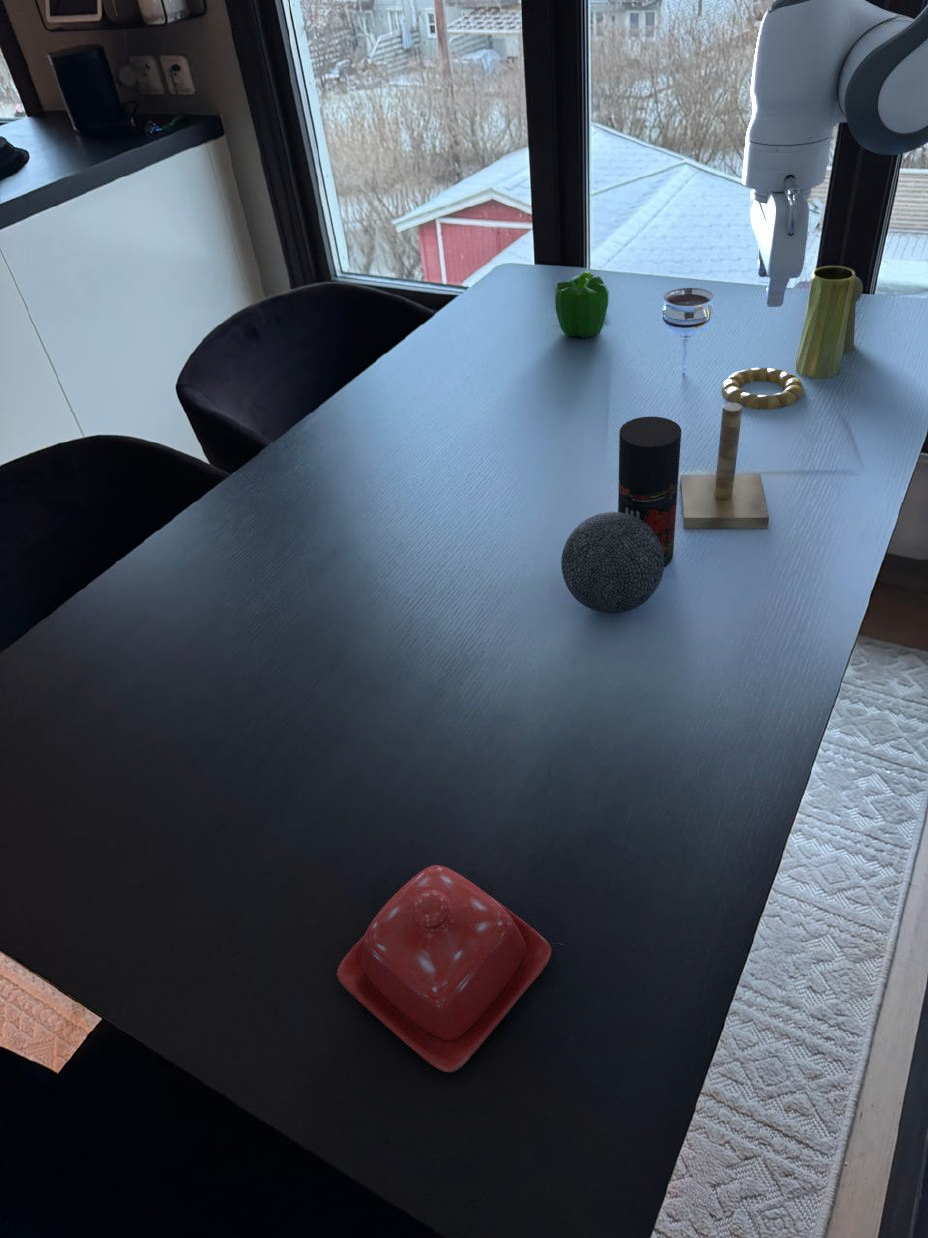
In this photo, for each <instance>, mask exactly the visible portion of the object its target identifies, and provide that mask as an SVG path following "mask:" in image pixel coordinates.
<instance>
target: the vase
mask: <svg viewBox="0 0 928 1238" xmlns="http://www.w3.org/2000/svg"><path fill="white" fill-rule="evenodd" d="M855 276H856V271H855V270H854V269H852V268H850V267H846V266H842V265H825V266H820V267H817V268H815V269H814V270H813V271H812V273H811V276H810V284H809V291H808V297H807V303H806V309H805V316H804V322H803V327H802V332H801V337H800V341H799V346H798V350H797V357H796V360H795V365H794V368H795V372H796V373H798V374H800V376H802V377H806V378H811V379H829V378H833V377H835V376H837V375H839V372H840V371H841V369H842V368H841V367H842V363H843V356H844V354H843V348H844V340H845V333H846V326H847V320H848V314H849V308H850V302H851V296H852V290H853V284H854V278H855Z"/></svg>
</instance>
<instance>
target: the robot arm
mask: <svg viewBox="0 0 928 1238" xmlns="http://www.w3.org/2000/svg"><path fill="white" fill-rule="evenodd" d="M755 47H756V48H755V53H754V61H753V66H752V77H751V85H750V98H751V102H752V103H751V104H752V114H751V119H750V122H749V125H748V126H747V127H748V128H747V131H746V135H745V146H744V157H743V167H742V176H741V183H742V184H743V185H744V186H745V187H746V188H748V189H749V192H750V193H749V194H750V195H749V212H750V213H749V214H750V223H751V224H750V225H751V227H752V230H753V233H754V236H755V239H756V244H757V266H756V267H757V268H756V272H757V275H758V277H760V278H768V285H767V287H766V294H765V301H766V305H767V307H769V308H780V307H781V306H782V305H783V304H784V299H785V293H786V290H787V287H788V285H789V282H790V279H798V278H799V277H800V276H801V275H802V272H803V270H804V266H805V259H806V252H807V251H806V250H807V243H808V233H809V223H810V222H809V221H810V205H809V202H808V200H809V199H810V198H811V196H812V189H814V188H816V187H818V186H820V185H822V184H823V183H824V182H825V180H826V174H827V169H828V163H829V162H828V161H829V155H830V148H831V141H832V135H833V130H834V127H835V126H836V125H838V124H841V123H847V126H848V129H849V132H850V133H851V135H852V137H853V139H854V140H855V142H857V143H858V144H859V145H860V146H861V147H862V148H864V149H866V150H867V151H870V152H871V153H875V154H878V155H885V156H896V155H902V154H905V153H909V152H911V151H915V150H916V149H919V148H922V147H923V146H924V145H926V144H927V143H928V4H927V5H926V6H924V8H923V10H922V11H921V12H920V13H919V14H918V15H917V16H916V17H915V18H912V17H909V16H907V15H904V14H899V13H895V12H893V11H889V10H886V9H883V8H881V7H879V6H877V5H874V4H873V3H870V1H867V0H775V1H774V2H772V4H771V5H770V6H769V7H768V8H767V10H766V12H765V14H764V16H763V19H762V21H761V25H760V28H759V32H758V37H757V42H756V46H755Z"/></svg>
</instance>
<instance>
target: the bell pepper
mask: <svg viewBox="0 0 928 1238" xmlns="http://www.w3.org/2000/svg"><path fill="white" fill-rule="evenodd" d="M609 292H610V291H609V289H608V287H607V284H605V283H604V281H603V279H602V278H601V276H594V274H593V273H592V272H590V271H587V270H586V271H583V272H581V273H580V275H575V276H574V277H572V278H570V279H569V281H561V282H557V283H556V286H555V289H554V303H555V313H556V317H557V321H558V324H559V327H560V330H561V331H562V332H563V333H564V335H566V336H567V337H577V336H578V337H580V338H590V337H591V338H592V337H595V336H597V335H599V334H600V332H601V331H602V329H603V327H604V323H605V319H606V315H607V311H608V307H609V295H610V293H609Z"/></svg>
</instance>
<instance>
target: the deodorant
mask: <svg viewBox="0 0 928 1238" xmlns="http://www.w3.org/2000/svg"><path fill="white" fill-rule="evenodd" d="M618 438H619V440H618V488H617V489H618V491H617V492H618V496H617V499H618V500H617V512H621V513H626V514H629V515H632V516H635V517H637V518H639V519H640V520H642V521H644V522H645V523H646V524H647V525H649V526H650V527H651V529H652V530H653V531H654V532H655V534H656V536H657V537H658V539H659V541H660V544H661V546H662V549H663V554H664V568H666V567H668V566H669V565H670V564H671V562H672V561H673V558H674V551H675V550H674V547H675V533H676V519H677V505H678V503H677V502H678V489H679V475H680V473H679V472H680V459H681V458H680V457H681V445H682V444H681V443H682V428H681V426H680V425H679V424H678V423H677V422H676V421H674V420H672V419H669V418H666V417H661V416H641V417H637V418H633V419H630V420H628V421H626V422H625V423H623V424H622V425H621V427H620V428H619V433H618Z"/></svg>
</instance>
